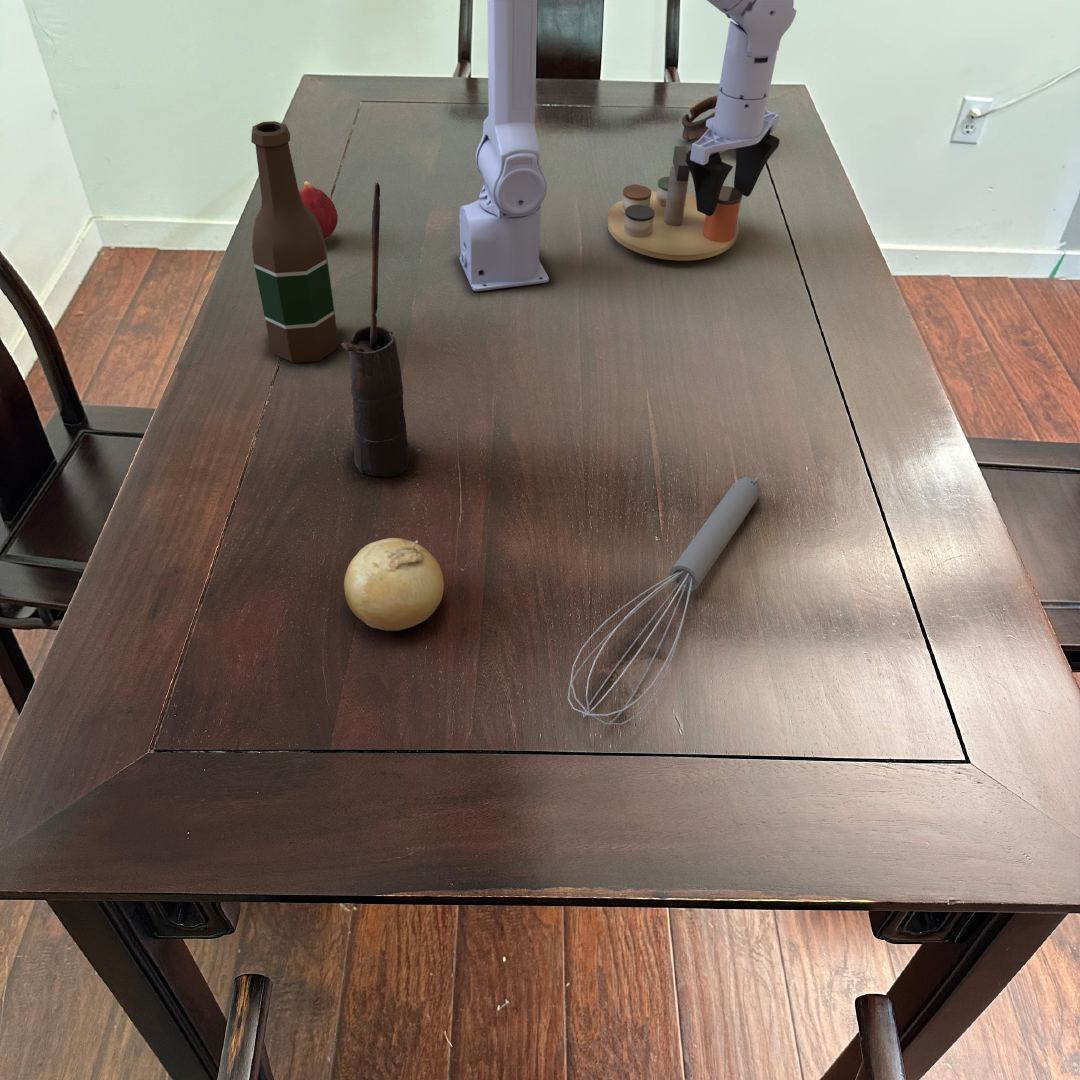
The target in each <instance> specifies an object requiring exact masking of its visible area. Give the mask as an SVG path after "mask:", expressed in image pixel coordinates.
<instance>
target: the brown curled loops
mask: <svg viewBox="0 0 1080 1080" xmlns="http://www.w3.org/2000/svg"><path fill="white" fill-rule="evenodd" d="M717 97H718V95H714V96H709V97H708V98H706V99H703V100H701V101H700V102H698V103H696V104H695V105H693V106H692V107H691V108H690V109H689V113H690V115H691V116H690V115H689V114H688V113H686V114H685V115H684V116H683V117H682V118H681V124H682V126H683V130H682V138H683V139H684V140H685V141H688V142H689V141H698V140H699V139H700V138H701V137H702V136H703V135H704V133H705V132H706V131H707V130H708V129H709V128H708V127H706V121H707V120H708V119H710V118H713V117H714V116H715V111H714V112H713V113H712V114H710V115H708V116H706V117H704V118H702V119H700V120H696V119H697V118H698V117H699V116H700V115H702V114H703V113H706V112H708V111H710V110H713V109H716V104H717ZM695 120H696V121H695Z"/></svg>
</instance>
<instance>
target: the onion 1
mask: <svg viewBox="0 0 1080 1080" xmlns="http://www.w3.org/2000/svg"><path fill="white" fill-rule="evenodd" d="M299 193H300V196H301V198H302V201H303V204H304V205H305V206H306V207H307V208H308V209H309V210H310V211H311V212H312V213H313V214H314V215H315V217H316V219H317V221H318V222H319V224H320V226H321V228H322V231H323V236H324V241H325V240H326V239H328V238H329V237H331V235H332V234H334V232H335V230H336V227H337V225H338V223H339V222H338V220H339V217H338V215H339V214H338V213H337V208H336V205H335V204H334V202H333V200H332V199H331V198H330V197H329V196H328V195H327V194H326V193H325V192H324V190H323V191H322V190H321V189H319V188H317V187H315V186H314V185H312V184H311V183H310V182H309V181H307V180H305V181H303V188H302V189H301V190H299Z"/></svg>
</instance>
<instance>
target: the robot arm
mask: <svg viewBox="0 0 1080 1080" xmlns="http://www.w3.org/2000/svg"><path fill="white" fill-rule="evenodd" d="M486 1H487V76H488V77H487V80H488V81H487V85H488V87H487V88H488V90H487V91H488V115H487V117H486V118H485V119H484V120H483V123H482V128H483V129H482V137H481V140H480V142H479V144H478V146H477V148H476V152H475V164H476V168H477V170H478V172H479V173H480V175H481V176H482V177H483V180H484V183H483V186H482V188H481V190H480V194H479V196H478V198H479V199H477V200H476V201H473V202H471V203H468V204H465V205H462V206H460V208H459V216H458V217H459V218H458V219H459V249H460V251H459V252H460V256H459V261H460V264H461V267H462V268H463V271H464V274H465V276H466V278H467V280H468V282H469V285H470V287H471V289H472V291H473V292H483V291H492V290H498V289H506V288H514V287H522V286H531V285H538V284H539V285H541V284H545V283H546V284H547V283H548V282H549V281H550V277H549V276H548V274H547V272H546V270H545V268H544V266H543V265H542V263H541V261H540V243H541V242H540V241H541V217H542V216H541V213H542V212H541V211H542V204H543V202H544V200H545V199H546V196H547V191H548V180H547V177H546V175H545V173H544V171H543V169H542V166H541V162H540V161H541V159H540V158H541V157H540V156H541V151H540V145H539V140H538V134H537V130H536V123H535V122H536V120H535V119H536V80H537V79H536V76H537V37H538V35H537V34H538V33H537V32H538V31H537V30H538V0H486ZM706 1H707V2H708V3H710V4H711V5H712V6H713V7H715V8H716V9H717V10H719V11H720V12H721V13H723V14H724V15H725V17H727V19H731V20H730V21H729V25H728V31H727V37H726V43H725V47H724V48H725V49H724V54H723V61H722V67H721V74H720V80H719V86H718V92H717V96H718V97H717V104H716V107H715V109H714V112H715V116H714V117H713V118H710V119H708V120H707V121H706V127H708V128H709V129H708V130H707V131H706V132H705V133H704V135H703V136H702V137H701V138H700V139H698V140H696V141H695V142H692V144H691V150H689V151H687V155H686V163H687V165H688V167H689V169H690V174H691V177H692V181H693V185H694V192H695V193H694V195H696V204H697V211H699V212H701V213H703V214H705V215H707V216H711V215H713V214H714V212H715V209H716V206H717V203H718V199H719V195H720V192H721V189H722V186H724V184H725V181H726V179H727V177H728V175H729V174H730V172H731V171H732V169H733V168H734V166H733V165H731V164H729V163H727V162H724V161H723V158H722V157H721V154H722V153H724V152H726V151H728V150H729V151H730V150H734V149H735V168H734V176H733V177H734V178H733V188H736V189H738V190H739V191H740V192H741V193H742V196H744V197H746V198H747V197H749V196H751V194H752V192H753V190H754V189H755V186H756V184H757V182H758V179H759V177H760V175H761V173H762V171H763V169H764V168H765V166H766V164H767V163H768V161H769V160H770V158H771V157H772V155H774V152H775V151H776V150H777V149H778V148H779V146H780V142H781V141H780V140H781V139H780V138H779V137H777V136H775V135H772V133H775V132H776V131H777V128H778V123H779V118H780V114H778V113H775V112H772V111H770V110H767V106H768V100H769V95H770V90H771V85H772V80H773V75H774V70H775V67H776V66H775V65H776V60H777V55H778V51H779V49H780V45H781V40H782V38H783V36H784V34H785V33H786V32H787V31H788V30H789V28H790V27H791V26H792V24H793V23H794V20H795V18H796V16H797V9H795V7H794V0H706Z"/></svg>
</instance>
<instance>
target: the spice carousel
mask: <svg viewBox="0 0 1080 1080" xmlns="http://www.w3.org/2000/svg"><path fill="white" fill-rule="evenodd" d="M687 152H688V151H687V147H686V146H684V145H683V146H682V145H675V146H674V149H673V154H672V155H673V156H672V157H673V158H672V164H673V165H672V166H671V167H670V172H669V176H663V177H661V178H659V179H658V180H657V188H656V191H652V190H651V189H650V188H649V187H648V186H645V185H641V184H630V185H627V186H625V187H624V188H623V189H622V199H621V200H618V201H617V202H616V203H614V204H613V205H612V207H610V210H609V211H608V214H607V221H606V223H607V224H606V226H607V229H608V231H609V234H610V235H611V236H612V238H613V239H614V240H615V241H617V243H619V244H620V245H622V246H623V247H625V248H627V249H629V250H631V251H633V252H634V253H638V254H640V255H643V256H647V257H650V258H655V259H660V260H666V261H685V262H687V261H697V260H705V259H709V258H712V257H715V256H719V255H720V254H723V253H725V252H726V251H728V250H729V249H730V248H731V247H733V246H734V245H735V243H736V241H737V239H738V236H739V229H740V227H739V223H738V222H737V224H736V230H735V235H734V238H733V239H732V240H730V241H727V242H715V241H712V240H709V239H707V238H706V237H705V236H704V235H703V229H704V223H705V217H706V215H705V214H703V213H701V212H699V211H697V204H696V194H691V193H688V186H689V180H690V174H691V172H690V169H689V167H688V165H687V163H686V155H687Z"/></svg>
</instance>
